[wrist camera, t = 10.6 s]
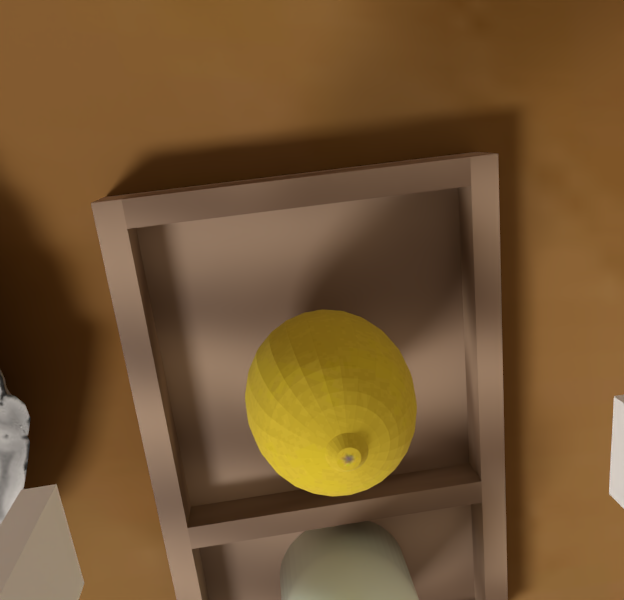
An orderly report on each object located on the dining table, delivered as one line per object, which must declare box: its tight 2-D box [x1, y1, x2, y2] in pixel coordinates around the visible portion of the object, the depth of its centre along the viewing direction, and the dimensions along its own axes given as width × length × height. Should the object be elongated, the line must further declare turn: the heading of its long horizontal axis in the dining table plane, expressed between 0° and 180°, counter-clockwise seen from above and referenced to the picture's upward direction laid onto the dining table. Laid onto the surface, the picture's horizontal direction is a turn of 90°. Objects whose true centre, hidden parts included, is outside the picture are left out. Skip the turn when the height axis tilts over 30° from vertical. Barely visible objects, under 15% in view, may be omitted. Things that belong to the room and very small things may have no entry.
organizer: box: [91, 152, 508, 600], centre depth 24 cm, size 22×14×2 cm, turn 6°
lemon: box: [245, 309, 417, 496], centre depth 20 cm, size 6×6×8 cm
